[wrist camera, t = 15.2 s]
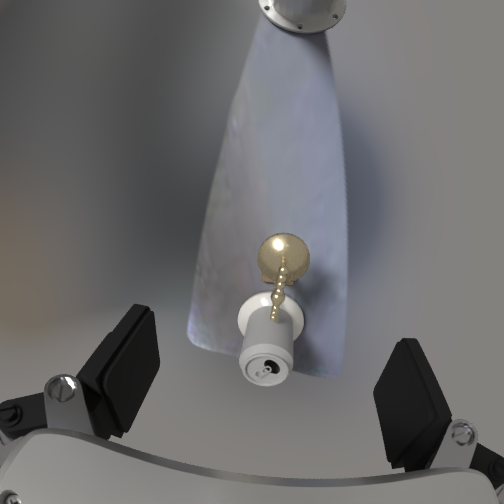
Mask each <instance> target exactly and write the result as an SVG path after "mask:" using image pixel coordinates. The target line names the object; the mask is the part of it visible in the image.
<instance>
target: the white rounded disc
mask: <svg viewBox="0 0 504 504" xmlns="http://www.w3.org/2000/svg"><path fill="white" fill-rule="evenodd" d="M272 292H273V291H264V292H259V293H256V294H254V295H252V296H250V297H249V298H248V299H247V300H246V301H245V302H244V303H243V304H242V306H241V308H240V311H239V315H238V326H239V329H240V331H241V333H242V334H243V335H244V336H245V332H246V327H247V322H248V319H249V316H250V315H251V314H252V312H253V311H255V310H256V309H258V308H261V307H264V306H272V305H273V304H272V301H271V294H272ZM284 294H285V293H284ZM279 307H280V308H281V309H283V310H285V311H286V312H287V313H288V314H289V315H290V316H291V318H292V321H293V341H294V340H295V339H296V338H297V337H298V336H299V335H300V333H301V332H302V329H303V325H304V316H303V311H302V309H301V307H300V305H299V304H298V302H297V301H296V300H295V299H293V298H292V297H291V296H289V295H287V294H285V301H284V302H283V303H282V304H281V305H280V306H279Z"/></svg>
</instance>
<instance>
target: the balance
mask: <svg viewBox="0 0 504 504" xmlns="http://www.w3.org/2000/svg"><path fill="white" fill-rule="evenodd" d="M309 263H310V254H309V250H308V247H307V245H306V244H305V243H304V241H303V240H302V239H300V238H299V237H297V236H295V235H293V234H289V233H279V234H275V235H272V236H270V237H269V238H267V239H266V240H265V241H264V242H263V244H262V245H261V247H260V249H259V253H258V264H259V267H260V269H261V271H262V276H261V281H264V282H272V283H274V288H273V292H272V294H271V301H272V304H273V305H272V307H271V309H272V310H271V312H270V314H271V315H270V320H271V321H272V322H274V321H276V320H277V316H278V314H279V312H278V311H279V310H280V307H279V306H280V305H281V304H282V303H283V302H284V301H285V294H284V288H285V284H287V285H293V283H294V281H295V280H297V279H299V278H300V277H302V276H303V275H304V274H305V272H306V271H307V269H308V267H309Z"/></svg>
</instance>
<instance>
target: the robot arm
mask: <svg viewBox="0 0 504 504" xmlns="http://www.w3.org/2000/svg"><path fill="white" fill-rule="evenodd" d="M258 2H259V6H260V8H261V11H262V12H263V14H264V15H265V17H266V18H268V19H269V20H270V21H271V22H272V23H274V24H275V25H277V26H278V27H280V28H283V29H285V30H288V31H291V32H296V33H305V34H311V33H319V32H322V31H326V30H328V29H330V28H332V27H333V26H335V25H336V24H337V23H338V22H339V21H340V20H341V18H342V17H343V15H344V13H345V9H346V0H258ZM267 9H268V10H267ZM334 18H336V19H334ZM299 27H300V28H302V29H298V28H299ZM159 367H160V357H159V350H158V343H157V335H156V326H155V317H154V312H153V311H150V308H149V307H148V306H143V305H139V304H134V305H133V306H132V307H131V308H130V310H129V311H128V312H127V313H126V315H125V316H124V317H123V318H122V320H121V321H120V322H119V324H118V325H117V326H116V327H115V329H114V330H113V331H112V332H110V333H109V334H108V335H107V336H106V337H105V338H104V340H103V341H102V342H101V344H100V345H99V346H98V348H97V349H96V350H95V351H94V353H93V354H92V355H91V357H90V358H89V359H88V361H87V362H86V363H85V365H84V366H83V368H82V369H81V370H80V371H79V373H78V374H77V376H76V377H74V376H72V375H69V374H59V375H56V376H54V377H52V378H50V379H49V380H48V381H47V382H46V384H45V387H44V392H42V393H38V394H34V395H29V396H25V397H20V398H16V399H11V400H7V401H4V402H2V403H1V404H0V504H504V458H503V457H502V456H500V455H498V454H496V453H495V452H493V451H491V450H489V449H488V448H486V447H484V446H483V445H481V444H479V443H477V441H478V433H477V430H476V428H475V427H474V426H473V425H472V423H470V422H469V421H467V420H463V419H457V420H454V421H453V422H452V419H451V416H452V414H451V411H450V409H449V407H448V404H447V402H446V400H445V397H444V395H443V393H442V390H441V388H440V386H439V384H438V381H437V379H436V377H435V375H434V373H433V371H432V368H431V366H430V365H429V363H428V360H427V358H426V356H425V354H424V352H423V350H422V348H421V346H420V344H419V342H418V340H417V339H415V338H403V339H401V341H400V342H397V344H396V345H395V348H394V350H393V352H392V354H391V356H390V358H389V360H388V362H387V364H386V366H385V369H384V370H383V372H382V374H381V376H380V378H379V380H378V382H377V384H376V386H375V388H374V391H373V395H374V400H375V404H376V408H377V413H378V417H379V421H380V426H381V431H382V436H383V440H384V445H385V450H386V456H387V460H388V462H391V466H392V469H396V468H402V467H404V469H405V473H398V474H390V475H381V476H371V477H361V478H343V479H298V478H279V477H266V476H257V475H247V474H241V473H234V472H227V471H221V470H215V469H210V468H204V467H199V466H195V465H190V464H186V463H182V462H178V461H174V460H170V459H166V458H163V457H159V456H156V455H152V454H149V453H145V452H141V451H139V450H135V449H132V448H129V447H126V446H123V445H120V444H117V443H114V442H112V441H108V439H109V438H110V436H111V435H113V436H116V437H119V438H121V437H122V435H123V433H124V432H125V433H127V432H128V431H129V430H130V428H131V426H132V423H133V421H134V419H135V417H136V415H137V413H138V411H139V409H140V407H141V405H142V402H143V400H144V398H145V396H146V394H147V392H148V390H149V388H150V386H151V384H152V382H153V380H154V378H155V376H156V374H157V372H158V370H159Z"/></svg>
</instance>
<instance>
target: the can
mask: <svg viewBox="0 0 504 504" xmlns="http://www.w3.org/2000/svg"><path fill="white" fill-rule="evenodd" d="M271 307H272V306H264V307H261V308H258V309H256V310H255V311H253V312H252V314H251V315H250V316H249V319H248V322H247V327H246V332H245V336H244V341H243V345H242V350H241V355H240V359H239V363H240V367H241V369H242V371H243V374H244V376H245V377H246V378H247V379H248V380H249V381H250V382H252V383H254V384H256V385H261V386H273V385H277V384H279V383H281V382H283V381H284V380H285V379H286V378H287V376H288V374H289V373H291V371H292V368H293V321H292V318H291V316H290V315H289V314H288V313H287V312H286V311H285V310H283V309H281V308H280V310H279V311H278V312H279V314H278V316H277V320H276V321H274V322H272V321H271V320H270V315H271V314H270V312H271V310H272V309H271Z"/></svg>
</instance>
